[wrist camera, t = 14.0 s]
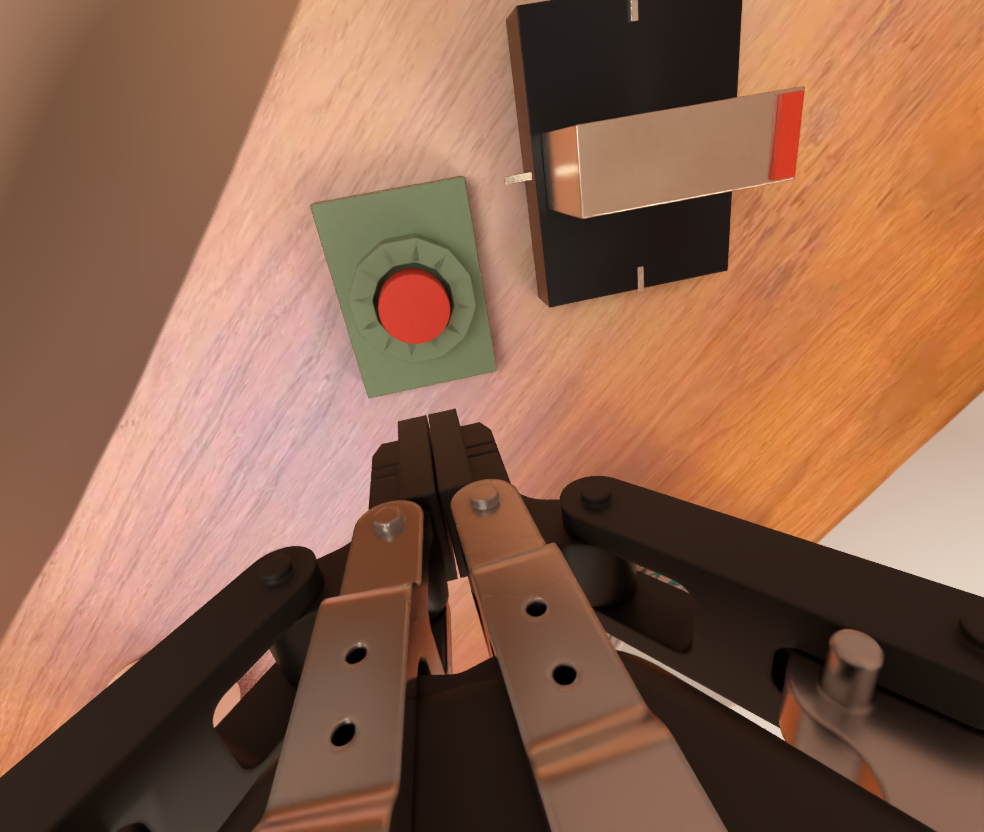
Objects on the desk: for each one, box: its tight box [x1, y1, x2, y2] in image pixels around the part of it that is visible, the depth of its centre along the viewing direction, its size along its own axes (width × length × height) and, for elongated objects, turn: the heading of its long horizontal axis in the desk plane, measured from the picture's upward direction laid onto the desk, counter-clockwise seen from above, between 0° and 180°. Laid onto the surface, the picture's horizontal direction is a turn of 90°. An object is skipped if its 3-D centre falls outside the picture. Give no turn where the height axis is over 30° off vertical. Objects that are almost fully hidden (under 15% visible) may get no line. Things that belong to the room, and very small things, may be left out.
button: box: [378, 268, 450, 344], centre depth 26 cm, size 4×4×2 cm
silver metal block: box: [541, 86, 805, 219], centre depth 24 cm, size 10×4×6 cm, turn 99°
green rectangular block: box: [310, 176, 497, 398], centre depth 28 cm, size 11×8×4 cm
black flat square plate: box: [504, 0, 742, 307], centre depth 28 cm, size 14×14×3 cm
